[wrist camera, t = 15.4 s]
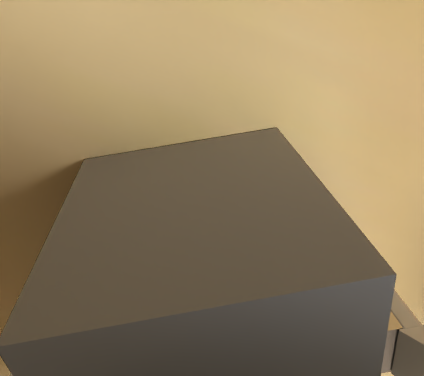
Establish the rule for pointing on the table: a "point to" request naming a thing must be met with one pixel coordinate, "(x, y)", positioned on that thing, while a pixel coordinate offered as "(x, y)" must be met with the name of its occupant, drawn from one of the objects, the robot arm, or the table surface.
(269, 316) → the grey rectangular prism
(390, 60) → the table surface
